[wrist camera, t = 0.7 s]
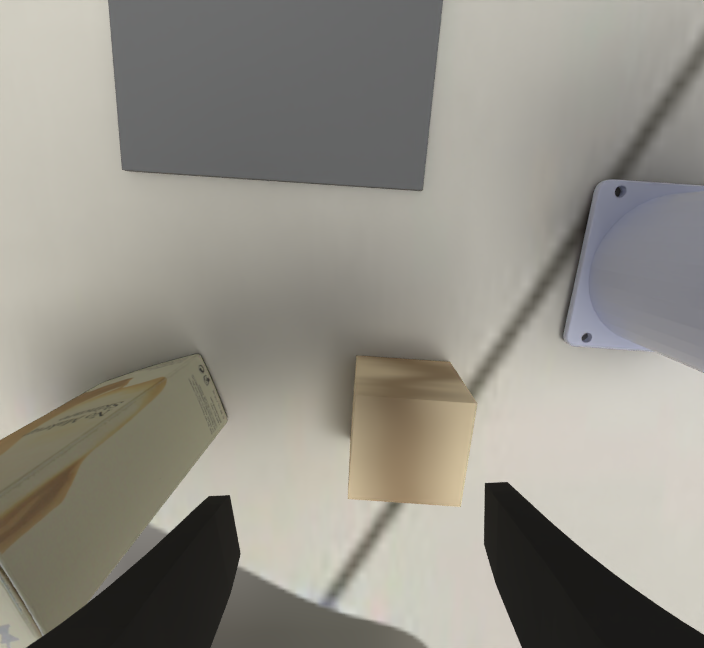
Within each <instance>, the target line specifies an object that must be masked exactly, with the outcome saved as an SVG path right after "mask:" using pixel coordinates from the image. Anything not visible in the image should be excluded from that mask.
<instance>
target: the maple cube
mask: <svg viewBox="0 0 704 648" xmlns="http://www.w3.org/2000/svg"><path fill="white" fill-rule="evenodd" d="M476 409H477V402H476V401H475V399H474V398H473V396H472V395H471V393H470V392H469V390H468V389H467V387H466V386H465V384H464V383H463V381H462V379H461V378H460V376H459V375H458V373H457V372H456V370H455V369H454V367H453V366H452V364H451V363H450V362H445V361H431V360H416V359H402V358H387V357H372V356H358V355H356V369H355V383H354V397H353V411H352V425H351V438H350V461H349V483H348V499H357V500H371V501H385V502H400V503H414V504H428V505H442V506H457V507H461V501H462V495H463V489H464V483H465V476H466V470H467V464H468V458H469V452H470V446H471V439H472V433H473V427H474V421H475V415H476Z"/></svg>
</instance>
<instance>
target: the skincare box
mask: <svg viewBox="0 0 704 648" xmlns="http://www.w3.org/2000/svg"><path fill="white" fill-rule="evenodd" d="M226 423H227V417H226V414H225V412H224V409H223V407H222V404H221V401H220V399H219V396H218V394H217V391H216V389H215V386H214V384H213V382H212V379H211V377H210V375H209V372H208V370H207V368H206V366H205V364H204V362H203V360H202V357H201V356H200V355H199V354H195V355H191V356H187V357H183V358H179V359H175V360H171V361H168V362H164V363H161V364H157V365H154V366H151V367H147V368H144V369H141V370H138V371H135V372H132V373H129V374H126V375H123V376H120V377H117V378H114V379H111V380H109V381H106V382H103V383H101V384H99V385H97V386H96V387H94V388H92V389H90V390H88V391H87V392H85V393H83V394H81V395H80V396H78V397H76V398H74V399H72V400H71V401H69V402H67V403H65V404H64V405H62V406H60V407H58V408H57V409H55V410H53V411H51V412H50V413H48V414H46V415H44V416H43V417H41V418H39V419H37V420H35V421H33V422H32V423H30V424H28V425H26V426H24V427H23V428H21V429H19V430H17V431H16V432H14V433H12V434H10V435H8V436H7V437H5V438H3V439H1V440H0V648H26V647H27V646H29V645H30V644H32V643H33V642H35V641H36V640H38V639H39V638H41V637H42V636H44V635H45V634H47V633H48V632H49V631H51V630H52V629H54V628H55V627H57V626H58V625H59V624H61V623H62V622H63V621H65V620H66V619H67V618H69V617H70V616H71V615H73V614H74V613H75V612H77V611H78V610H79V609H81V608H82V607H83V606H85V605H86V604H87V603H88V601H89V600H90V599H91V597H92V596H93V595H94V594H95V592H96V591H97V590H98V588H99V587H100V586H101V585H102V583H103V582H104V581H105V579H106V578H107V577H108V576H109V574H110V573H111V572H112V570H113V569H114V568H115V566H116V565H117V564H118V563H119V561H120V560H121V559H122V557H123V556H124V555H125V554H126V552H127V551H128V550H129V549H130V547H131V546H132V544H133V543H134V542H135V541H136V539H137V538H138V537H139V536H140V534H141V533H142V531H143V530H144V529H145V528H146V526H147V525H148V524H149V522H150V521H151V520H152V519H153V517H154V516H155V515H156V513H157V512H158V511H159V509H160V508H161V507H162V505H163V504H164V503H165V502H166V500H167V499H168V498H169V497H170V495H171V494H172V492H173V491H174V490H175V489H176V487H177V486H178V485H179V484H180V482H181V481H182V480H183V478H184V477H185V476H186V475H187V473H188V472H189V471H190V469H191V468H192V467H193V465H194V464H195V463H196V461H197V460H198V459H199V458H200V456H201V455H202V454H203V452H204V451H205V450H206V449H207V447H208V446H209V445H210V443H211V442H212V441H213V440H214V438H215V437H216V436H217V434H218V433H219V432H220V430H221V429H222V428H223V427H224V425H225V424H226Z"/></svg>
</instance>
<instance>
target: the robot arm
mask: <svg viewBox="0 0 704 648" xmlns="http://www.w3.org/2000/svg"><path fill="white" fill-rule="evenodd" d="M617 187H619V188H620V189H621V193H620V195H619V196H618V197H616V195H615V190H616V188H617ZM585 333H587V334H588V336H587V338H586V339H585V340H582V338H581V337H582V335H583V334H585ZM563 338H564V341H565V342H566V343H567V344H569V345H571V346H577V347H592V348H607V349H621V350H636V351H650V352H657V353H659V354H661V355H664V356H666V357H668V358H671V359H673V360H675V361H678V362H680V363H682V364H684V365H687V366H689V367H691V368H694V369H696V370H698V371H701V372H703V373H704V185H689V184H674V183H659V182H644V181H629V180H615V179H610V180H604V181H602V182H600V183H599V184H598V185H597V186H596V188H595V190H594V194H593V199H592V204H591V208H590V213H589V218H588V222H587V227H586V232H585V236H584V241H583V246H582V250H581V255H580V260H579V264H578V269H577V274H576V278H575V283H574V288H573V292H572V297H571V302H570V306H569V311H568V315H567V320H566V325H565V329H564V334H563ZM484 545H485V549H486V552H487V556H488V559H489V563H490V566H491V570H492V573H493V576H494V579H495V583H496V585H497V588H498V590H499V593H500V595H501V598H502V600H503V603H504V605H505V608H506V610H507V613H508V615H509V617H510V620H511V622H512V625H513V627H514V629H515V632H516V634H517V637H518V639H519V641H520V644H521V646H522V648H704V635H703V634H702V633H700V632H699V631H697V630H695V629H694V628H692V627H691V626H689V625H687V624H686V623H684V622H683V621H681V620H679V619H678V618H676V617H675V616H673V615H672V614H670V613H669V612H667V611H666V610H664V609H663V608H661V607H660V606H658V605H657V604H655V603H654V602H653V601H651V600H650V599H648V598H647V597H645V596H644V595H643V594H641V593H640V592H638V591H637V590H635V589H634V588H633V587H631V586H630V585H628V584H627V583H626V582H624V581H623V580H622V579H620V578H619V577H617V576H616V575H615V574H613V573H612V572H611V571H610V570H608V569H607V568H606V567H604V566H603V565H602V564H601V563H599V562H598V561H597V560H596V559H594V558H593V557H592V556H590V555H589V554H588V553H587V552H585V551H584V550H583V549H582V548H581V547H579V546H578V545H577V544H576V543H574V542H573V541H572V540H571V539H570V538H569V537H568V536H566V535H565V534H564V533H563V532H562V531H561V530H559V529H558V528H557V527H556V526H555V525H554V524H553V523H551V522H550V521H549V520H548V519H547V518H546V517H545V516H544V515H543V514H541V513H540V512H539V511H538V510H537V509H536V508H535V507H534V506H533V505H532V504H531V503H530V502H528V501H527V500H526V499H525V498H524V497H523V496H522V495H521V494H520V493H519V492H518V491H517V490H515V489H514V488H513V487H512V486H511V485H510V484H509V483H508V482H500V483H485V516H484ZM239 558H240V548H239V543H238V537H237V532H236V526H235V521H234V515H233V510H232V505H231V499H230V495H225V496H209V497H208V498H206V499H205V500H204V501H203V502H202V503H201V504H200V505H199V506H198V507H196V508H195V509H194V510H193V511H192V512H191V513H190V514H189V515H188V516H187V517H186V518H185V519H184V520H183V521H182V522H181V523H180V524H178V525H177V526H176V527H175V528H174V529H173V530H172V531H171V532H170V533H169V534H168V535H167V536H166V537H164V538H163V539H162V540H161V541H160V542H159V543H158V544H157V545H156V546H155V547H154V548H153V549H152V550H150V551H149V552H148V553H147V554H146V555H145V556H144V557H142V559H140V560H139V561H138V562H137V563H136V564H134V565H133V566H132V567H131V568H130V569H129V570H127V571H126V572H125V573H124V574H123V575H122V576H120V577H119V578H118V579H117V580H116V581H115V582H113V583H112V584H111V585H110V586H109V587H107V588H106V589H105V590H104V591H103V592H101V593H100V594H99V595H98V596H96V597H95V598H94V599H92V600H91V601H90V602H89V603H87V604H86V605H85V606H83V607H82V608H81V609H79V610H78V611H77V612H75V613H74V614H73V615H71V616H70V617H69V618H67V619H66V620H65V621H63V622H62V623H61V624H59V625H58V626H57V627H55V628H54V629H52V630H51V631H49V632H48V633H47V634H45V635H44V636H42V637H41V638H39V639H38V640H36V641H35V642H33V643H32V644H30V645H29V646H27V647H26V648H210V647H211V645H212V642H213V639H214V636H215V634H216V631H217V629H218V626H219V623H220V621H221V618H222V615H223V613H224V610H225V607H226V605H227V601H228V599H229V596H230V593H231V590H232V586H233V582H234V578H235V574H236V571H237V566H238V562H239Z"/></svg>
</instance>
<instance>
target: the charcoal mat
mask: <svg viewBox="0 0 704 648" xmlns="http://www.w3.org/2000/svg"><path fill="white" fill-rule="evenodd" d="M108 4H109V16H110V28H111V41H112V53H113V65H114V77H115V89H116V102H117V114H118V126H119V138H120V151H121V163H122V170H126V171H134V172H148V173H163V174H178V175H193V176H208V177H222V178H237V179H252V180H267V181H282V182H297V183H311V184H326V185H341V186H356V187H371V188H385V189H400V190H415V191H422V190H423V183H424V173H425V164H426V154H427V145H428V136H429V126H430V117H431V107H432V98H433V89H434V79H435V70H436V61H437V51H438V42H439V32H440V23H441V14H442V4H443V0H108Z"/></svg>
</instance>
